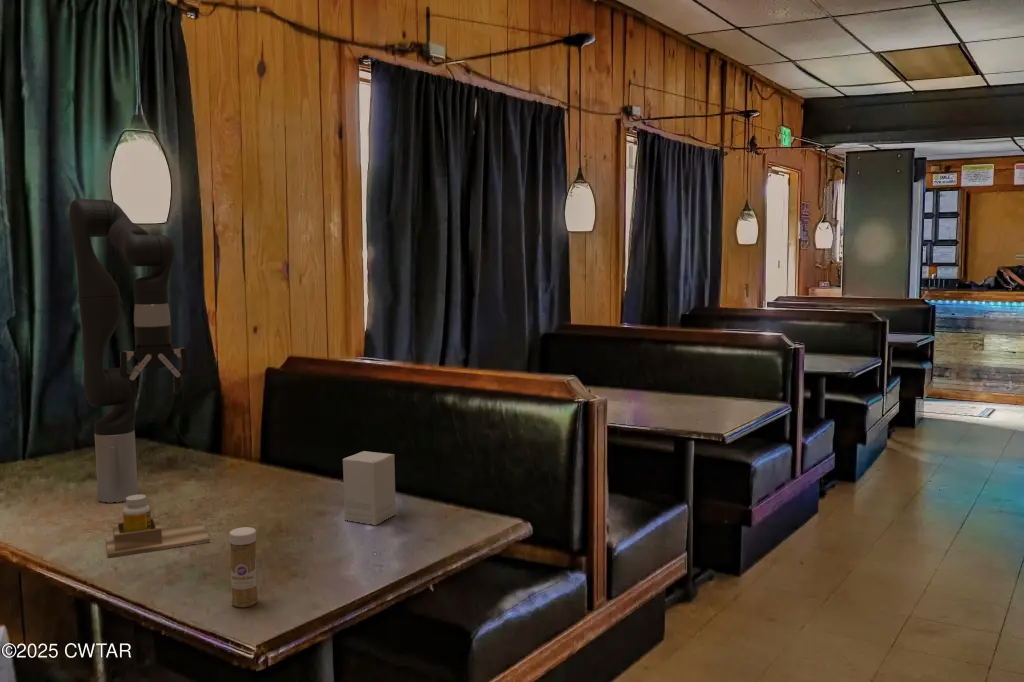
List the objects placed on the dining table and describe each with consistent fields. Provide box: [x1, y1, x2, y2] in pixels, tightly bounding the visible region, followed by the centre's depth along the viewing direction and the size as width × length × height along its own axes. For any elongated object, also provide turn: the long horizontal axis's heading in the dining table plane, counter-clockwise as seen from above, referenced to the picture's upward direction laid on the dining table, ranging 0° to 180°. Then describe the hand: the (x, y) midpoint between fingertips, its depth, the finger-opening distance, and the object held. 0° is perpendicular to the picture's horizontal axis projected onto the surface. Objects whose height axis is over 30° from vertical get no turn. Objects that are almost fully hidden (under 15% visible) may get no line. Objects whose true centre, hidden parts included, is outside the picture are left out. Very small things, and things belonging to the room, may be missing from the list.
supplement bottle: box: [122, 494, 152, 533], centre depth 182 cm, size 5×5×10 cm
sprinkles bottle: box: [228, 526, 259, 608], centre depth 152 cm, size 5×5×14 cm
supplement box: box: [342, 450, 397, 526], centre depth 199 cm, size 9×9×15 cm
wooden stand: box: [105, 516, 211, 559], centre depth 184 cm, size 12×20×4 cm, turn 117°
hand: (155, 394), depth 193 cm, fingers open, 8 cm apart
